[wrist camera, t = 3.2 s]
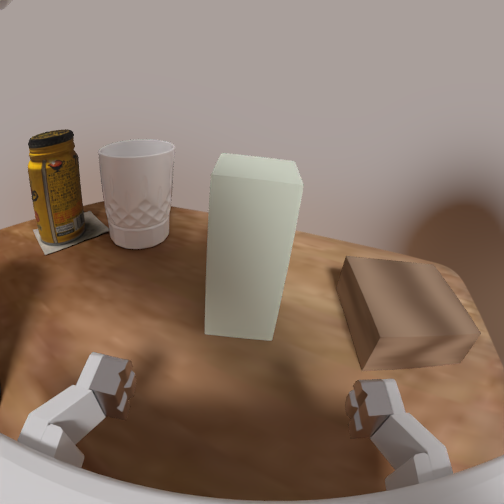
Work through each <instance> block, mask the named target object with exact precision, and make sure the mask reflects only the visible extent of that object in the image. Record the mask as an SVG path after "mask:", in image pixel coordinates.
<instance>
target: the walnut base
mask: <svg viewBox="0 0 504 504" xmlns="http://www.w3.org/2000/svg"><path fill="white" fill-rule="evenodd" d="M336 290H337V293H338V296H339V299H340V302H341V305H342V308H343V311H344V314H345V317H346V320H347V323H348V326H349V330H350V333H351V336H352V339H353V343H354V346H355V349H356V353H357V356H358V359H359V363H360V366H361V370H362V371H376V370H395V369H409V368H421V367H432V366H442V365H450V364H458V363H461V361H462V360H463V359H464V357H465V356H466V354H467V353H468V352H469V350H470V349H471V347H472V346H473V344H474V343H475V342H476V340H477V339H478V337H479V336H480V334H481V332H480V331H479V329H478V328H477V326H476V325H475V323H474V321H473V320H472V318H471V317H470V315H469V314H468V312H467V311H466V309H465V308H464V306H463V305H462V303H461V302H460V301H459V299H458V298H457V296H456V295H455V293H454V292H453V290H452V289H451V288H450V286H449V285H448V284H447V282H446V281H445V279H444V278H443V277H442V275H441V274H440V273H439V271H438V270H437V269H436V267H435V266H434V265H431V264H422V263H412V262H402V261H392V260H382V259H372V258H362V257H352V256H346V258H345V261H344V265H343V268H342V271H341V274H340V277H339V280H338V284H337V287H336Z"/></svg>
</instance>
